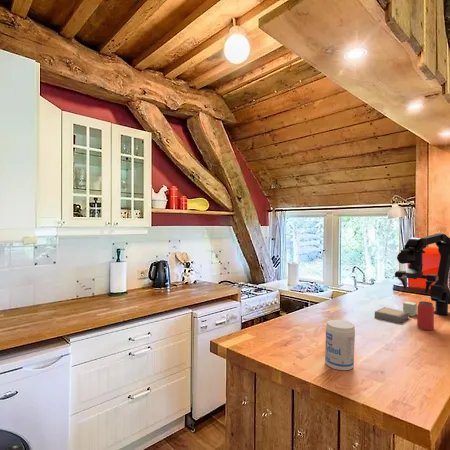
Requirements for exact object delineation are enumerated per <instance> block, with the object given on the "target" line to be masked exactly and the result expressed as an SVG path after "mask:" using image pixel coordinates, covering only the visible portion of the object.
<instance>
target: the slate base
mask: <svg viewBox="0 0 450 450" xmlns="http://www.w3.org/2000/svg"><path fill="white" fill-rule="evenodd" d="M374 318H377V319H380V320H385V321H390V322H393V323H397V324H401V323H402V322H403V321H406V320H408V319H409V315H408V312H405V311H403V310H400V309H395V308H389V307H382V308H379V309H378V310H375V311H374Z"/></svg>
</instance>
